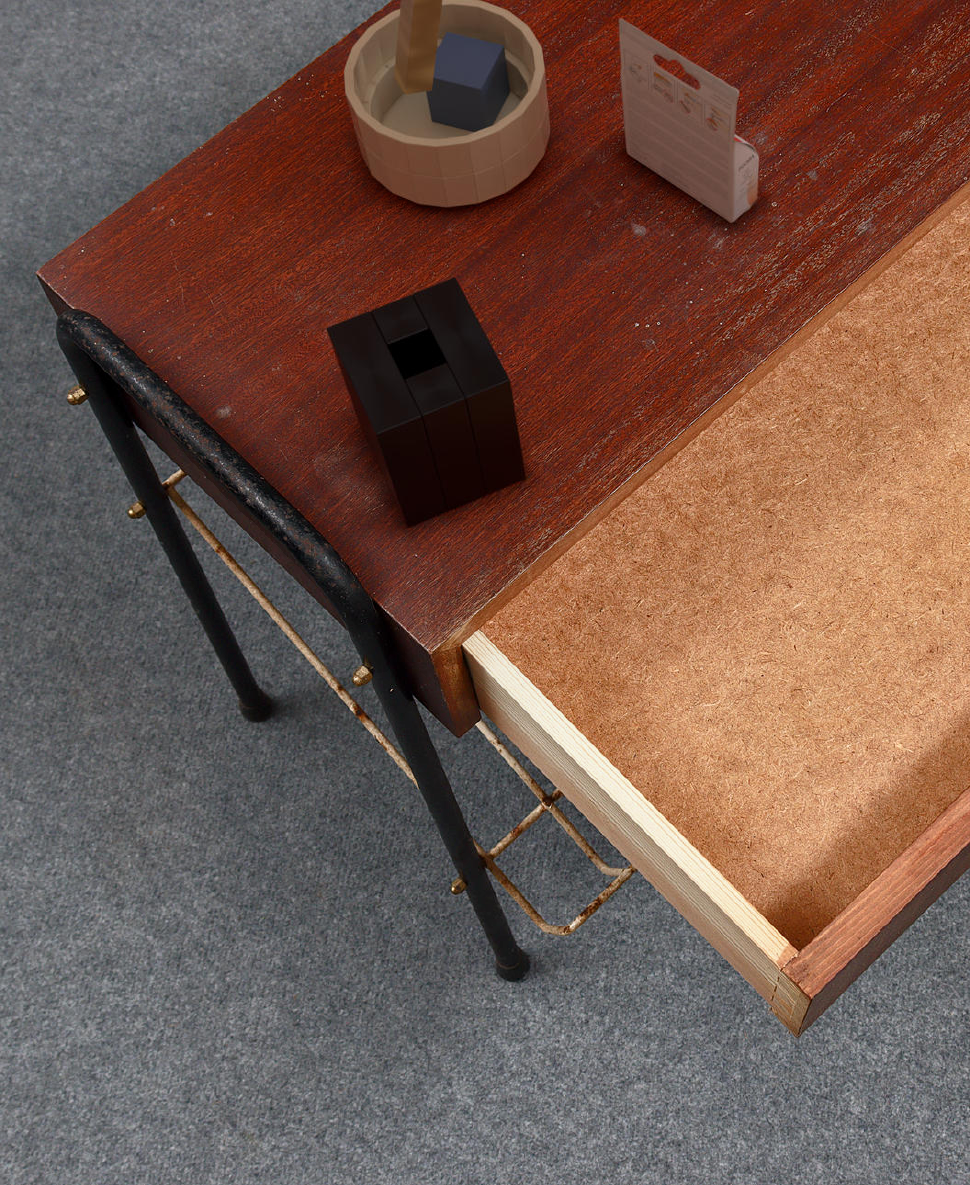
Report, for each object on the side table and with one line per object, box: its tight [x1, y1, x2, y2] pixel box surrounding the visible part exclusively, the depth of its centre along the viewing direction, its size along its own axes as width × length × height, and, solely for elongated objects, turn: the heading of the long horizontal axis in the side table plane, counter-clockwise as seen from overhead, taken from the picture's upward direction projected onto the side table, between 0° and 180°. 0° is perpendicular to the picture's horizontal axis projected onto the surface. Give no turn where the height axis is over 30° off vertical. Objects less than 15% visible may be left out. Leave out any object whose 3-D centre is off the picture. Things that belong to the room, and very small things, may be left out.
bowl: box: [343, 0, 551, 208], centre depth 89 cm, size 12×12×6 cm
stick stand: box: [325, 276, 527, 529], centre depth 77 cm, size 7×7×10 cm
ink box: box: [618, 17, 760, 224], centre depth 84 cm, size 3×9×12 cm, turn 48°
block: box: [426, 32, 510, 132], centre depth 90 cm, size 4×4×4 cm
